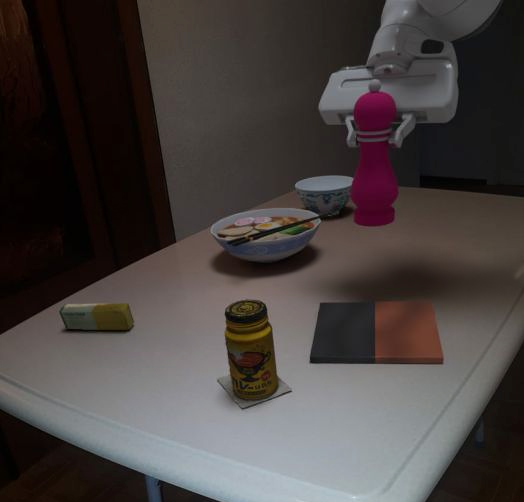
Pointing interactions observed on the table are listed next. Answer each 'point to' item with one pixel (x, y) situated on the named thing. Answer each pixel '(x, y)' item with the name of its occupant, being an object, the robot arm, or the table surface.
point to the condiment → (250, 354)
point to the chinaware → (324, 193)
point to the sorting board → (376, 333)
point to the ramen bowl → (266, 233)
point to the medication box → (97, 316)
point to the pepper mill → (374, 159)
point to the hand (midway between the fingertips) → (373, 145)
